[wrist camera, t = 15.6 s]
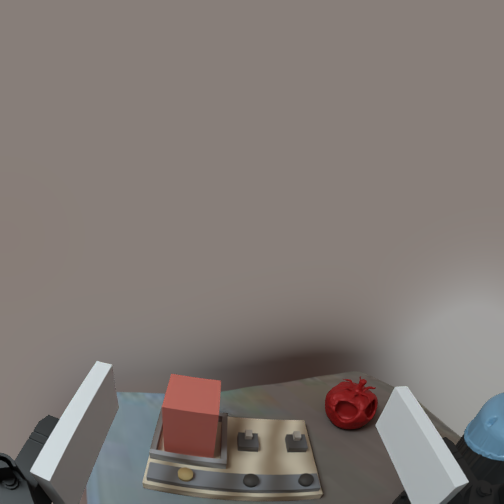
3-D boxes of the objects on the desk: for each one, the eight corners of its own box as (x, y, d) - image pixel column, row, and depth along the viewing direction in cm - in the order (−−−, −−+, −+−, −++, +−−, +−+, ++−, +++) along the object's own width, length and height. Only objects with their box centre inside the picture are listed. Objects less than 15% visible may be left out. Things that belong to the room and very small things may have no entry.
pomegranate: (317, 401, 53) (329, 363, 51) (362, 402, 53) (377, 365, 51) (324, 435, 44) (340, 397, 42) (375, 434, 44) (395, 396, 42)
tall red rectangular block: (215, 426, 42) (221, 380, 39) (213, 458, 35) (218, 415, 33) (171, 419, 41) (171, 373, 39) (164, 452, 35) (161, 406, 32)
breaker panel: (301, 425, 46) (306, 412, 45) (319, 498, 30) (327, 487, 30) (162, 413, 44) (161, 399, 43) (143, 487, 29) (140, 475, 28)
